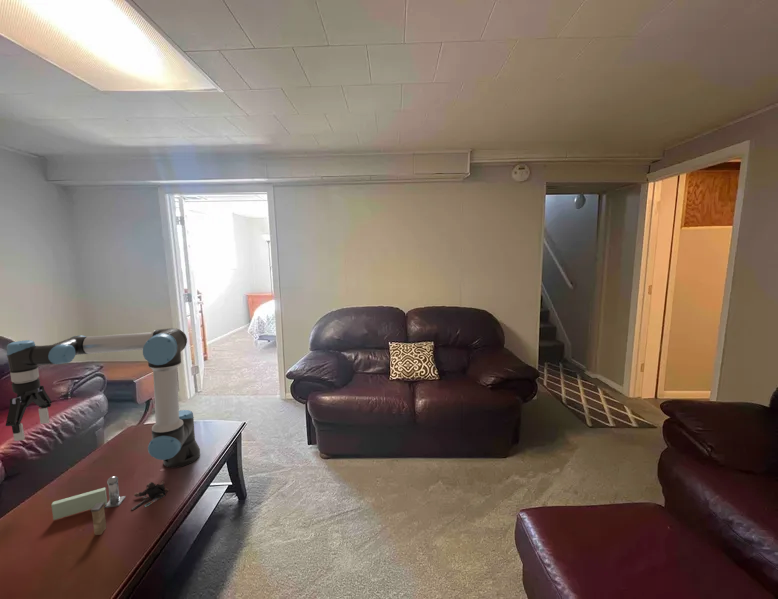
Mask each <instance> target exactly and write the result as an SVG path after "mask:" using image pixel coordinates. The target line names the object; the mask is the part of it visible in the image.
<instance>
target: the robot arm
mask: <svg viewBox="0 0 778 599" xmlns="http://www.w3.org/2000/svg"><path fill="white" fill-rule="evenodd" d="M187 344H188V337H187V335H186V333H185V332H184V331H183V330H181V329H179V328H175V327H171V328H162V329H154V330H153V331H149V332H137V333H134V332H133V333H121V334H106V335H92V336H91V335H90V336H86V335H82V334H81V335H74V336H72V337H70V338H67V339H64V340H62V341H59V342H55V343H53V344H48V345H36V343H35V341H34V340H30V339H28V340H27V339H26V340H17V341H13V342H10V343H8V344H7V345H6V356H7V361H8V367H9V372H10V373H9V374H10V382H12V383H11V389H12V392H13V393H14V394H16V397H15V398H10V399H9V409H8V411H7V412H8V413H7V417H6V421H5V427H11V429H12V434H13V440H14V442H19V441H24V440H25V439H26V437H25V432H24V425H23V424H24V423H22V420H23V417H24V415H25V412H26V410H27V408H28V407H30V406H29V405H30V404H31V403H34V404H36V405H37V406H38V407H39V408H38V415H39V423H40V425H43V424H49V423H50V415H49V414H50V413H49V408H50V407H51V406H52V402H53V401H52V400H51V398H50V397H49V395H48V393H47V392H46V390H45V388H44V387H45V386H44V385H41V381H40V380H41V379H40V372H39V366H41V365H42V366H45V365H62V364H70V363H71V362H72V361H73V360H74V359H75V357H76V356H79V355H90V354H103V353H116V352H129V351H142V355H143V357H144V359H145V360H146V361H147V363H148V366H147V367H148V368H150V369H151V370H152V373H153V374H152V377H153V394H154V413H155V414H154V416H155V423H154V424H153V425H152V427H151V440H150V441H149V443H148V446H147V451H148V454H149V455H150V457H152V458H154V459H156V460H159V461H163V465H164V466H165V467H166V468H181V467H184V466H187V465H189V464H192V463H193V462H195V461H197V460H198V459H199V458H200V455H201V449H200V446H199V445H198V443H197V441H196V436H195V421H194V420H195V417H194V413H193V411H191V410H189V409H188V410H187V409H185V410H184V409H183V410H180V407H179V406H180V404H179V381H178V380H179V378H178V366H180V364H182V353H181V352H182V351H183V350H184V349H185V348H186V347H187Z"/></svg>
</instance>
